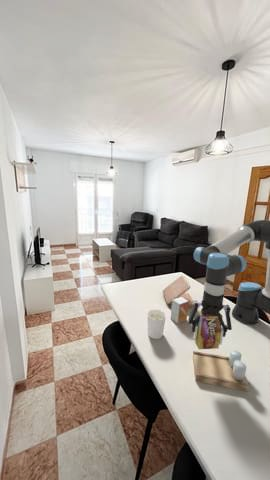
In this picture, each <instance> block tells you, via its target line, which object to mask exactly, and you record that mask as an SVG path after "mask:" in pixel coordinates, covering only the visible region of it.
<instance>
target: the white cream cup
mask: <svg viewBox="0 0 270 480" xmlns="http://www.w3.org/2000/svg"><path fill="white" fill-rule="evenodd" d="M166 317H167V316H166V313H165V312H164V311H162V310H161V309H160V310H159V309H151V310H149V311H147V335H148V337H149V338H151V339H154V340H160V339H162V337H163V335H164V329H165V322H166Z"/></svg>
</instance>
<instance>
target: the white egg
mask: <svg viewBox="0 0 270 480" xmlns="http://www.w3.org/2000/svg"><path fill="white" fill-rule="evenodd" d="M228 357H229V362H228V364H229V366H230V367H231V368H233V366H234V362H235V361H237V360H238V361H241V362H242V353H241V352H240V351H238V350H236V349H231V350H230V352H229V356H228Z"/></svg>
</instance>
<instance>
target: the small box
mask: <svg viewBox="0 0 270 480" xmlns="http://www.w3.org/2000/svg"><path fill="white" fill-rule="evenodd" d="M188 304H189V301H188V300H186V299H184V298H183V297H179V298H176V299H174V300H172V307H171V311H170V312H171V313H170V320H172V321H173V322H175V323H176V324H178V325H179V324H180V323H182V322H185V321H187V319H188V311H189V307H188Z"/></svg>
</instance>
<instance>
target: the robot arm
mask: <svg viewBox="0 0 270 480" xmlns="http://www.w3.org/2000/svg"><path fill="white" fill-rule="evenodd" d="M252 242H261V243H265V247H264V248H265V249H267V251H268V254H267V265H266V276H265V285H264V287H263V288H262V286H261V284H258V283H256V282H251V281H246V282H241V283H240V284H239V286H238V289H237V298H236V304H235V305H234V306H233V308H231V306H230V305H229V304H226V305H225V304H224V303H223V302H224V296H225V295H224V294H225V289H226V282H227V277H229V276H233V275H238V274H241V273H242V272H244V271H245V270H246V268H247V260H246V259H245V257H243V256H242V255H239V254H233V255H231V254H230V253H231V252H233V251H235V250H236V249H238V248H239V247H241V246H242V245H244V244H245V243H247V244H248V243H252ZM193 259H194V260H195V262H198V263H199V264H201V265H205V266H206V272H205V278H204V286H203V287H204V288H203V289H204V290H203V293H202V300H201V301H198V300H193V302H194V307H192V310H191V312H190V314H189V317H188V318H187V319H188V324H189V325H191V326H192V327H191V332H192V333H193V340H194V341H195V340H196V336H197V328H198V326H197V324H198V322H199V321H200V316H199V315H198V314H197V312H198V309H199V308H200V307H202V308H201V310H200V311H201V314H204V315H206V314H207V313H208V314H211V313H212V314H217V316H218V318H219V320H220V323H221V334H220V342H219V346H220V345H221V346H222V345H223V338H225V337H226V335H227V332H228V330H229V331H232V328H233V327H232V320H231V316H232V317H233V318H234V319H235V320H236V321H238V322H240V323H243V324H247V325H256V324H258V323H259V319H260V318H259V312H258V309H259V310H260V311H263V312H264V313H267V314H268V315H270V220H267V219H259V220H254V221H251V222H248V223H245V224H243V225H241V226H239V227H238V228H237V230H236V231H234V232H232V233H231V234H228V235H227V236H225V237H223V238H221V239H219V240H218V241H216V242H214V243H212V244H210V245H209V246H207V247H204V246H198V247H196V248H195V249H194V252H193ZM231 309H232V310H231ZM221 310H224V313H225V320H226V321H225V322H226V324H225V322H224V319H223V317H221V315H222V314H221ZM219 312H220V313H219ZM220 314H221V315H220Z"/></svg>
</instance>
